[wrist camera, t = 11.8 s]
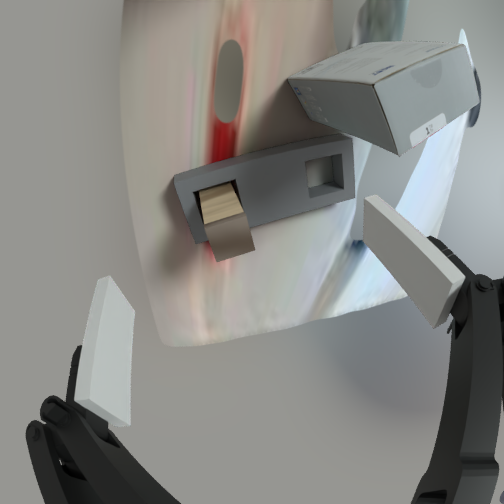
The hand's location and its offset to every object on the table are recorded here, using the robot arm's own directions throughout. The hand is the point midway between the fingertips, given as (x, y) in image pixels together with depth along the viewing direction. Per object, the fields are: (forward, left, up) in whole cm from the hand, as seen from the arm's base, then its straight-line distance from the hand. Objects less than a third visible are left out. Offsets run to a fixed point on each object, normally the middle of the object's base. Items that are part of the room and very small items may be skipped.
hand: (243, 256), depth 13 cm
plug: (+9, 0, -28) cm, 30 cm away
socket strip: (+9, +8, -28) cm, 31 cm away
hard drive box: (-5, +22, -29) cm, 36 cm away
